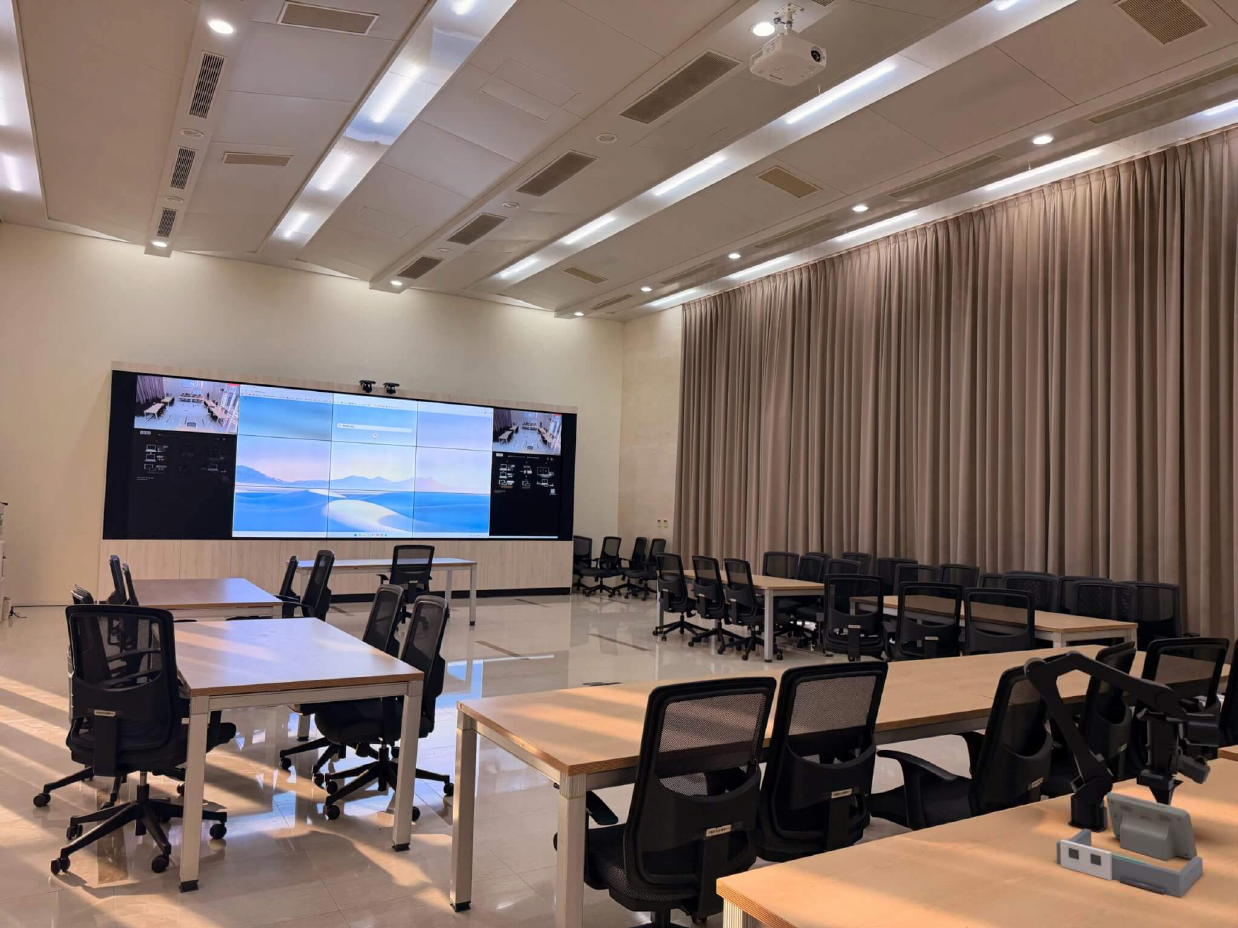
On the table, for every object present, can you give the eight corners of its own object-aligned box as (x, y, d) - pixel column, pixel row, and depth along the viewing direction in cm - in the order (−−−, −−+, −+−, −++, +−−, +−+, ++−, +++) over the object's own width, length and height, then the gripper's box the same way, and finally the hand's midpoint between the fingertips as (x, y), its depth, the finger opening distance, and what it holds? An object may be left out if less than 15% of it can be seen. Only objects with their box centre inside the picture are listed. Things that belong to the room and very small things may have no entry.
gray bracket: (1054, 864, 169) (1053, 839, 170) (1085, 842, 182) (1084, 818, 182) (1177, 899, 154) (1176, 871, 154) (1202, 872, 166) (1201, 846, 166)
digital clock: (1202, 861, 172) (1200, 807, 173) (1175, 868, 169) (1173, 813, 169) (1126, 834, 187) (1124, 785, 188) (1099, 840, 183) (1098, 790, 184)
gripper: (1194, 756, 176) (1197, 832, 175) (1216, 741, 189) (1218, 812, 187) (1134, 745, 184) (1136, 818, 183) (1159, 732, 197) (1161, 800, 195)
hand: (1165, 812), depth 187 cm, fingers closed
